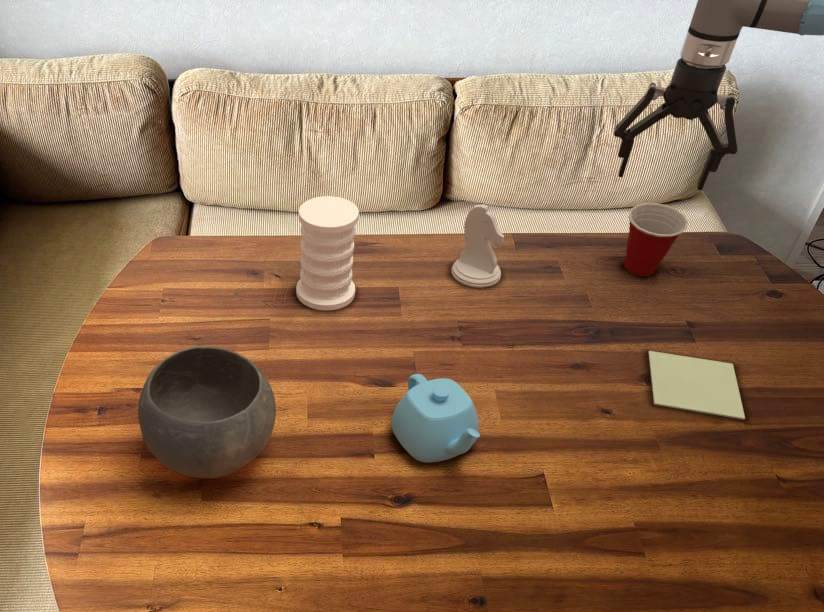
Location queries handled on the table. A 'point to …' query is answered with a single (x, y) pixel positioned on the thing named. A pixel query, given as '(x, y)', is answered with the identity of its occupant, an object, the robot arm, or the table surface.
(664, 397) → the mat
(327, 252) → the decorative container
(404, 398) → the teapot
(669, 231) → the plastic cup
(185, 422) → the bowl
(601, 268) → the table surface
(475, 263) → the chess piece
